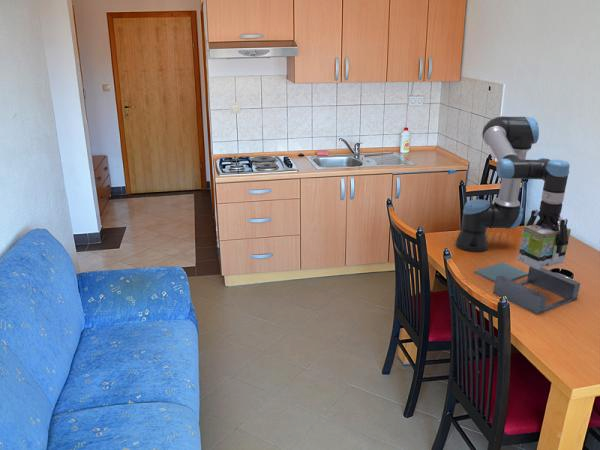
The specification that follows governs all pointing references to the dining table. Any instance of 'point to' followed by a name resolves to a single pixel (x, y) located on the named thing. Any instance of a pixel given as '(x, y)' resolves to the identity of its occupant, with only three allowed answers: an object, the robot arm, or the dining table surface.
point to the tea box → (540, 246)
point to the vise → (533, 298)
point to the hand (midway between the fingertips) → (541, 255)
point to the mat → (501, 272)
